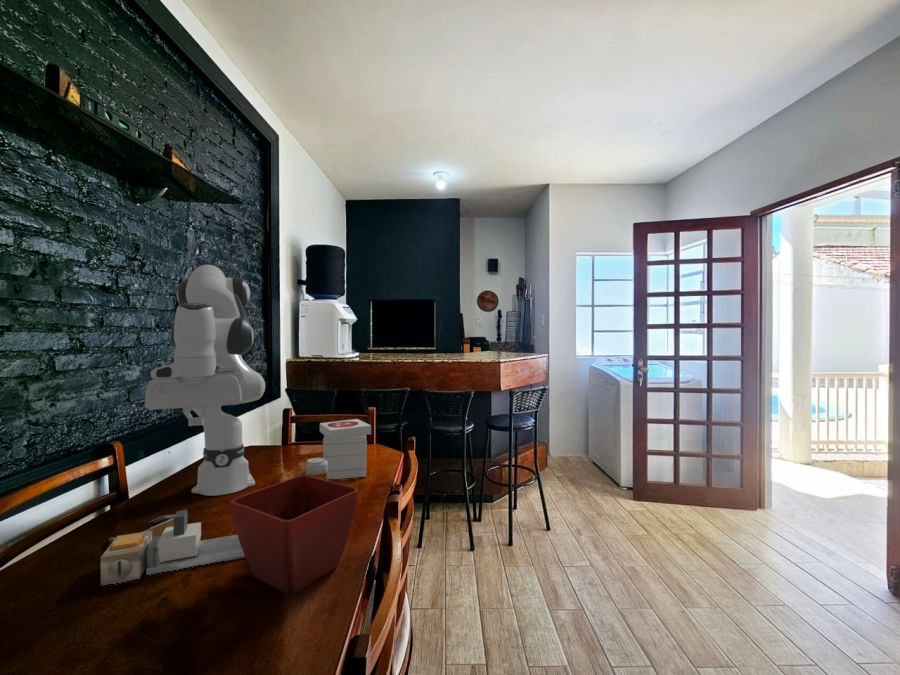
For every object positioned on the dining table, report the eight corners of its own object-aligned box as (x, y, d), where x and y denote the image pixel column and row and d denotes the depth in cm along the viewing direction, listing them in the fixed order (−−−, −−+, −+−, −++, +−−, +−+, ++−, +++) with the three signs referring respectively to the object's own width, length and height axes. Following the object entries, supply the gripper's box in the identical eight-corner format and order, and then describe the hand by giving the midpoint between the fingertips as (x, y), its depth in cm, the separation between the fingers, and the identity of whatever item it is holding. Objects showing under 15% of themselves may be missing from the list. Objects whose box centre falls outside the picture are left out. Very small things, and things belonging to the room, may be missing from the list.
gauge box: (117, 562, 95) (117, 536, 95) (152, 556, 97) (152, 530, 97) (99, 588, 85) (99, 558, 85) (138, 581, 87) (138, 552, 87)
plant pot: (286, 612, 77) (286, 520, 77) (227, 580, 87) (227, 500, 87) (360, 564, 93) (360, 488, 93) (303, 542, 104) (303, 474, 104)
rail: (156, 557, 97) (156, 533, 97) (274, 537, 106) (273, 515, 106) (146, 576, 89) (146, 550, 89) (274, 552, 99) (273, 528, 99)
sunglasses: (144, 553, 99) (142, 532, 99) (100, 553, 103) (98, 532, 104) (197, 527, 112) (195, 508, 113) (156, 528, 117) (154, 510, 117)
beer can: (321, 516, 118) (321, 463, 118) (301, 515, 119) (301, 462, 119) (331, 508, 124) (331, 457, 124) (313, 506, 125) (312, 456, 125)
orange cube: (119, 553, 92) (119, 537, 92) (143, 549, 94) (143, 533, 94) (112, 562, 88) (111, 546, 88) (137, 558, 90) (137, 542, 90)
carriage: (166, 549, 97) (165, 510, 97) (201, 543, 100) (200, 505, 100) (158, 564, 90) (158, 522, 90) (196, 557, 93) (195, 517, 93)
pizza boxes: (371, 455, 179) (370, 413, 179) (371, 479, 149) (371, 428, 149) (324, 458, 175) (324, 415, 175) (315, 483, 146) (315, 431, 146)
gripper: (243, 366, 110) (243, 419, 110) (149, 369, 102) (150, 426, 102) (241, 368, 104) (242, 424, 104) (142, 371, 96) (142, 431, 96)
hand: (195, 425), depth 103 cm, fingers closed
